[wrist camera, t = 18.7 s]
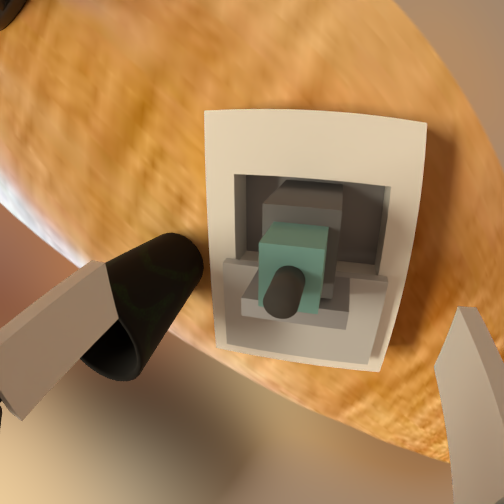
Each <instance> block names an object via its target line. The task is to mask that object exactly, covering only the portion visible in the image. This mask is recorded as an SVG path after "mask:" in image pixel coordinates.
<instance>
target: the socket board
mask: <svg viewBox="0 0 504 504" xmlns="http://www.w3.org/2000/svg"><path fill="white" fill-rule="evenodd" d="M204 124H205V166H206V194H207V217H208V237H209V255H210V271H211V287H212V301H213V314H214V327H215V339H216V348H220V349H225V350H230V351H235V352H240V353H245V354H250V355H256V356H261V357H267V358H273V359H279V360H285V361H291V362H298V363H305V364H312V365H319V366H327V367H335V368H344V369H353V370H363V371H373V372H380V369H381V366H382V363H383V360H384V357H385V354H386V351H387V347H388V344H389V341H390V337H391V334H392V331H393V327H394V324H395V320H396V316H397V313H398V309H399V305H400V301H401V297H402V293H403V289H404V285H405V280H406V276H407V271H408V267H409V262H410V257H411V252H412V247H413V241H414V236H415V230H416V224H417V218H418V211H419V204H420V197H421V189H422V181H423V172H424V161H425V149H426V134H427V123H424V122H418V121H412V120H405V119H398V118H391V117H384V116H375V115H366V114H357V113H345V112H333V111H317V110H293V109H232V110H209V111H204ZM286 180H299V181H312V182H323V183H334V184H343V198H342V218H341V229H340V239H339V248H338V257H337V265H336V271H341V272H350V273H359V274H368V275H377V276H386V277H387V278H388V287H387V291H386V296H385V300H384V305H383V309H382V313H381V317H380V321H379V325H378V329H377V333H376V337H375V340H374V344H373V348H372V351H371V355H370V358H369V361H368V365H366V364H356V363H347V362H338V361H330V360H322V359H314V358H307V357H300V356H294V355H287V354H281V353H275V352H269V351H263V350H257V349H251V348H246V347H241V346H235V345H230V344H227V338H226V321H225V302H224V282H223V262H224V260H225V259H226V258H231V259H239V260H247V261H256V262H259V242H260V240H261V239H262V206H263V203H264V202H265V201H266V200H267V199H268V198H269V197H270V196H271V195H272V194H273V193H274V192H275V191H276V190H277V189H278V188H279V187H280V186H281V185H282V184H283V183H284V182H285V181H286Z"/></svg>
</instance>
